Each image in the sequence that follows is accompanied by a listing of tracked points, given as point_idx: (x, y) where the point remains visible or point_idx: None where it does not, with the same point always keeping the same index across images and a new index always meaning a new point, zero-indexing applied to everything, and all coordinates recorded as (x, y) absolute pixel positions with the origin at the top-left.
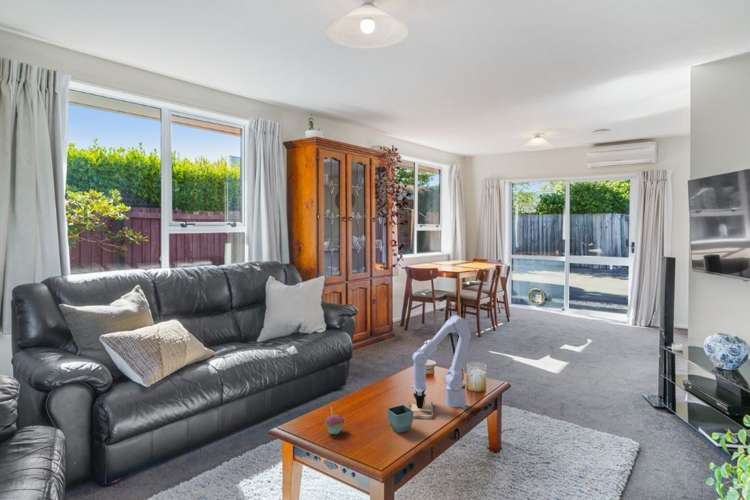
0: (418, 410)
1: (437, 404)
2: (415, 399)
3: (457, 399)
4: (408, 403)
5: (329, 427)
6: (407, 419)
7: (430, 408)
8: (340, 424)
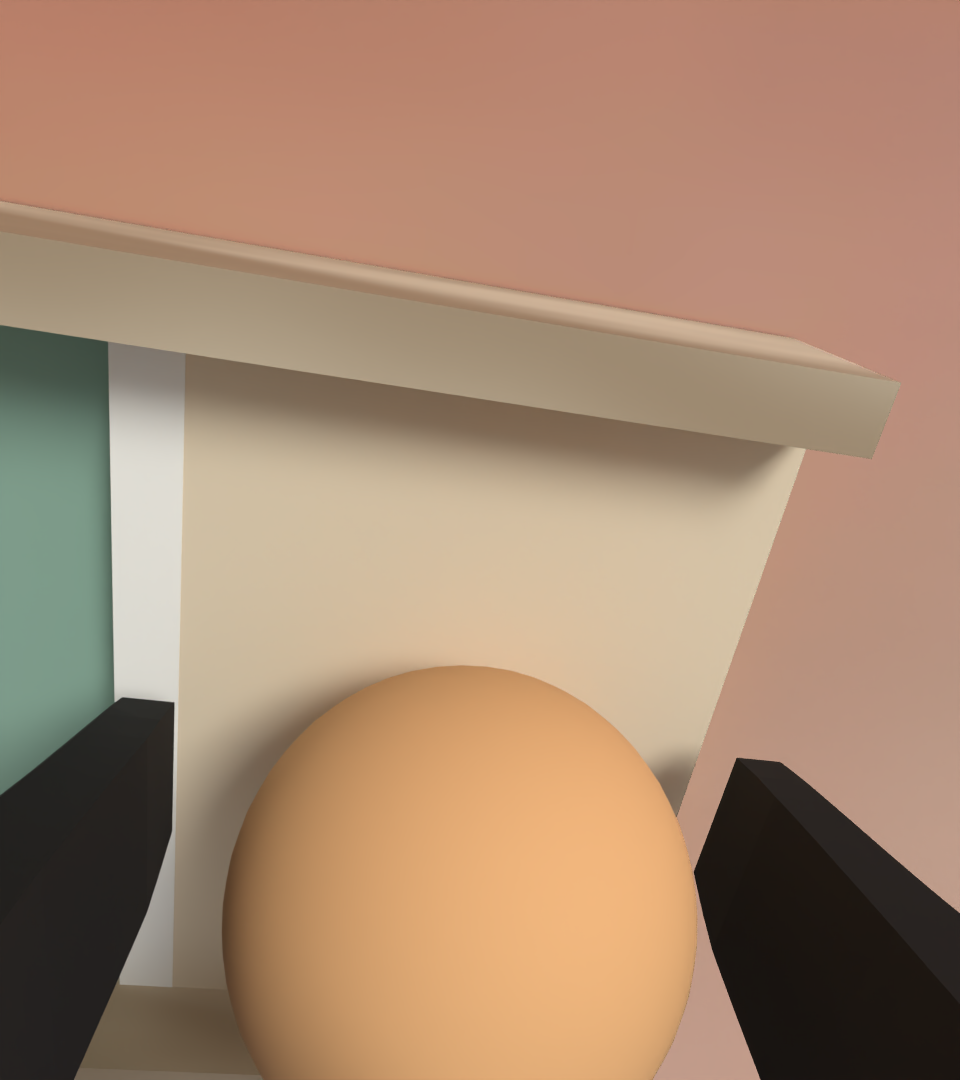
0: (120, 673)
1: (721, 1062)
2: (472, 824)
3: None
4: (608, 378)
5: None
6: None
7: None
8: None
